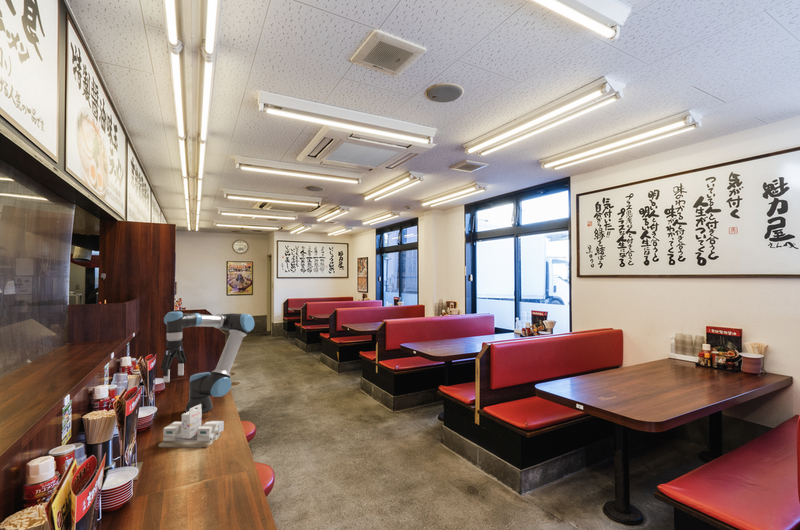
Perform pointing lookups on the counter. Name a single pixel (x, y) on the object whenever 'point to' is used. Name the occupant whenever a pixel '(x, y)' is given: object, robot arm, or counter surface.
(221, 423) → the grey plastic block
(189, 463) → the counter surface
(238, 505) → the counter surface
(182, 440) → the mounting board
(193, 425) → the ink cartridge box
